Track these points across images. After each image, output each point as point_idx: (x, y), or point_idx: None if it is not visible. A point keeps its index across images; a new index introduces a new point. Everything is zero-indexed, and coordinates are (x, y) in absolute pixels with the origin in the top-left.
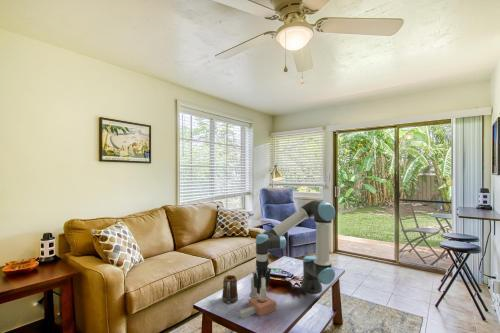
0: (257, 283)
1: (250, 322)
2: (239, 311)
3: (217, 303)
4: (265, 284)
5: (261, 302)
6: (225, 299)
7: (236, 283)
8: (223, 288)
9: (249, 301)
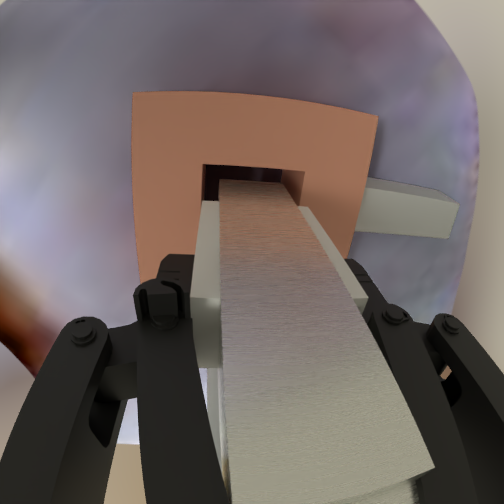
0: (489, 392)
1: (437, 117)
2: (448, 235)
3: None
4: (229, 345)
5: (284, 188)
6: None
7: None
8: None
9: None
